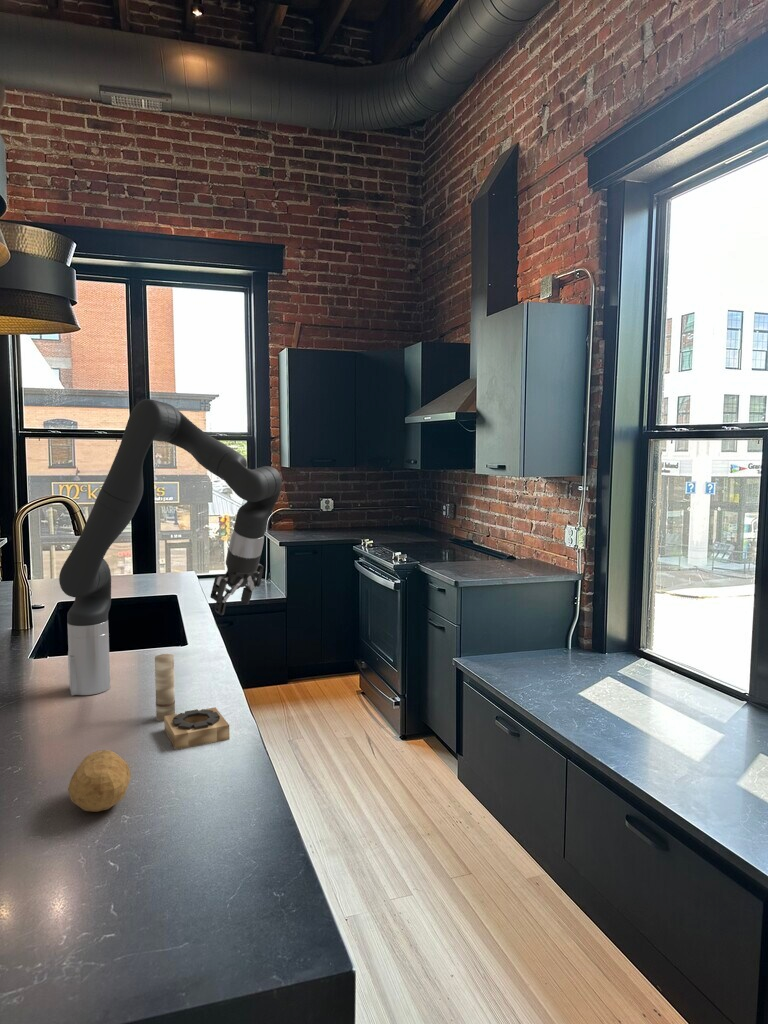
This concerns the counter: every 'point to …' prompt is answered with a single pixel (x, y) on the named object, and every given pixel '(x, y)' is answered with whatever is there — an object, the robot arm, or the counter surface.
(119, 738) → the counter surface
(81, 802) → the potato
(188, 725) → the socket
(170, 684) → the dowel
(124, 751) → the counter surface
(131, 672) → the counter surface
